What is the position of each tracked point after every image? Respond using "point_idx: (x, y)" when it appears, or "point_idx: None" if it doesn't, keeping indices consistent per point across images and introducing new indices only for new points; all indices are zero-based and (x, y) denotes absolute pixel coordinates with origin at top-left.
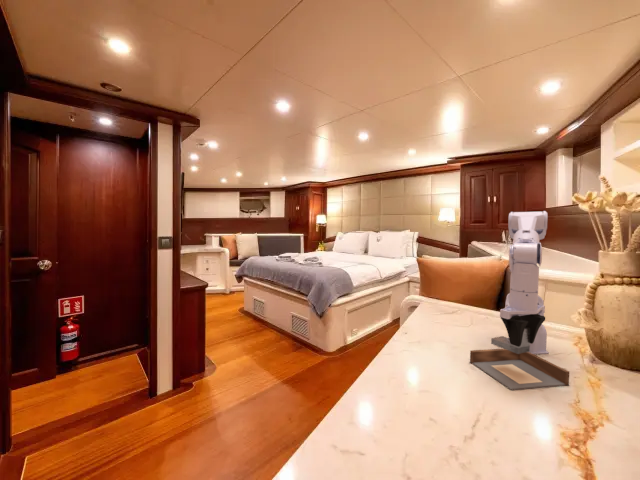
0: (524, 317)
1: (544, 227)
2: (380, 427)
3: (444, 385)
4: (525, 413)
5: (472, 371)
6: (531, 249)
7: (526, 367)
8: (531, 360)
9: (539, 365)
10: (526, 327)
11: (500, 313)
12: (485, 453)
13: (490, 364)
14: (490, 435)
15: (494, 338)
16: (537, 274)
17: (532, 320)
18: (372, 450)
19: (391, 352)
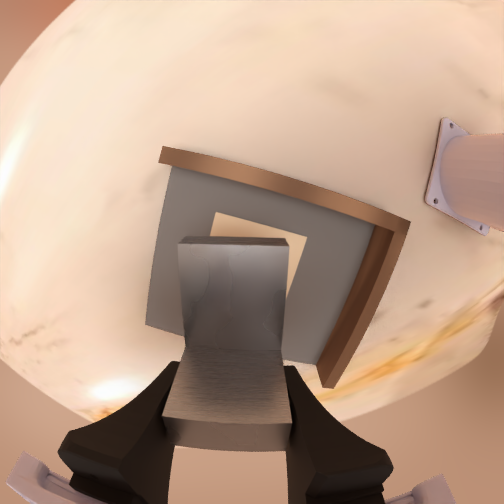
0: (302, 481)
1: None
2: None
3: (29, 233)
4: (112, 367)
5: (133, 202)
6: None
7: (330, 271)
8: (365, 277)
9: (352, 305)
10: (276, 443)
11: (16, 467)
12: (22, 362)
13: (226, 201)
14: (36, 355)
15: (193, 254)
16: None
17: (294, 494)
18: None
19: (39, 46)
